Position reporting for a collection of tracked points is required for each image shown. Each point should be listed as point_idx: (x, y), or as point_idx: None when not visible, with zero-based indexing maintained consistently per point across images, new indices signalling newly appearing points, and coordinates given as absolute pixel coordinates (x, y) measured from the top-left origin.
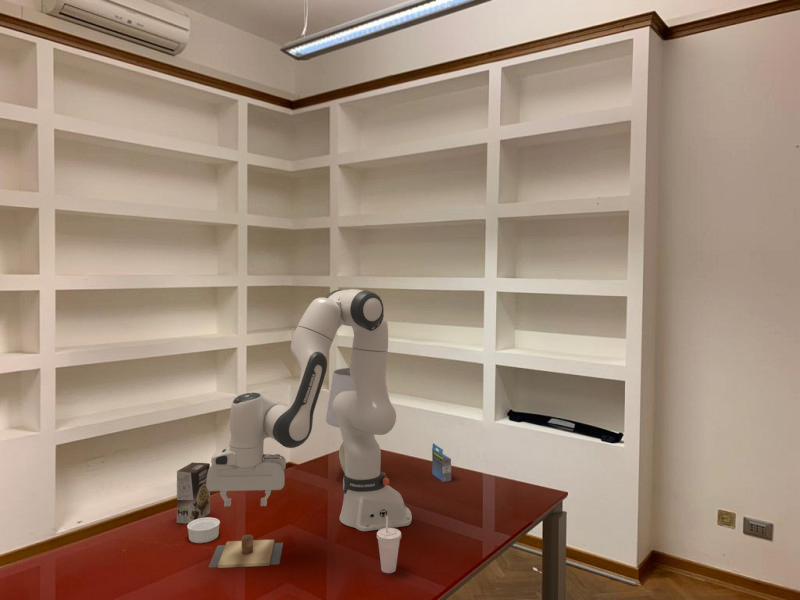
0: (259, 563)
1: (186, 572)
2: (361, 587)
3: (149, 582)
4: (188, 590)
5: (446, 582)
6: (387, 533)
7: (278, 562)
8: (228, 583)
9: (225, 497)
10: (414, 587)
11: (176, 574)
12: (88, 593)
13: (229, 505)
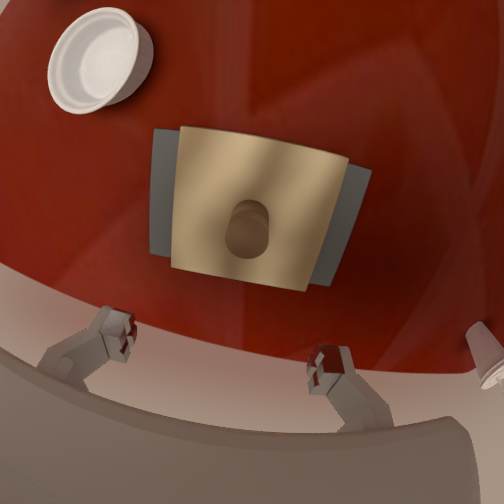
0: (280, 286)
1: (109, 251)
2: (419, 363)
3: (63, 267)
4: (136, 314)
5: None
6: (495, 379)
7: (330, 279)
8: (207, 317)
9: (94, 367)
10: (461, 365)
11: (93, 254)
12: (13, 269)
13: (132, 341)
